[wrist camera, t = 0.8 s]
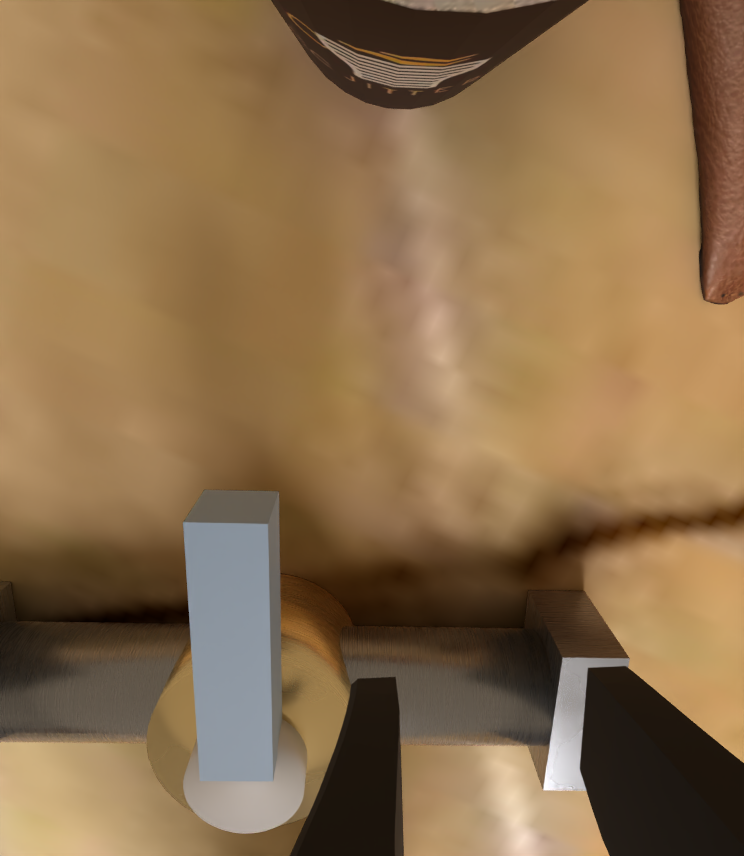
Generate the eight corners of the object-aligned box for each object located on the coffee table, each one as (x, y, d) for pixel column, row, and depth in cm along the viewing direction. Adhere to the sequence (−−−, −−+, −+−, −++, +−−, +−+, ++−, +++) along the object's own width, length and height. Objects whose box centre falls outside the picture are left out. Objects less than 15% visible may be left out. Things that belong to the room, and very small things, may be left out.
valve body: (586, 578, 21) (646, 664, 16) (564, 718, 22) (614, 829, 18) (-52, 567, 20) (-166, 654, 16) (-24, 712, 22) (-119, 826, 17)
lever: (307, 801, 17) (301, 863, 15) (196, 800, 17) (178, 862, 15) (307, 492, 14) (300, 524, 12) (175, 489, 14) (149, 521, 12)
